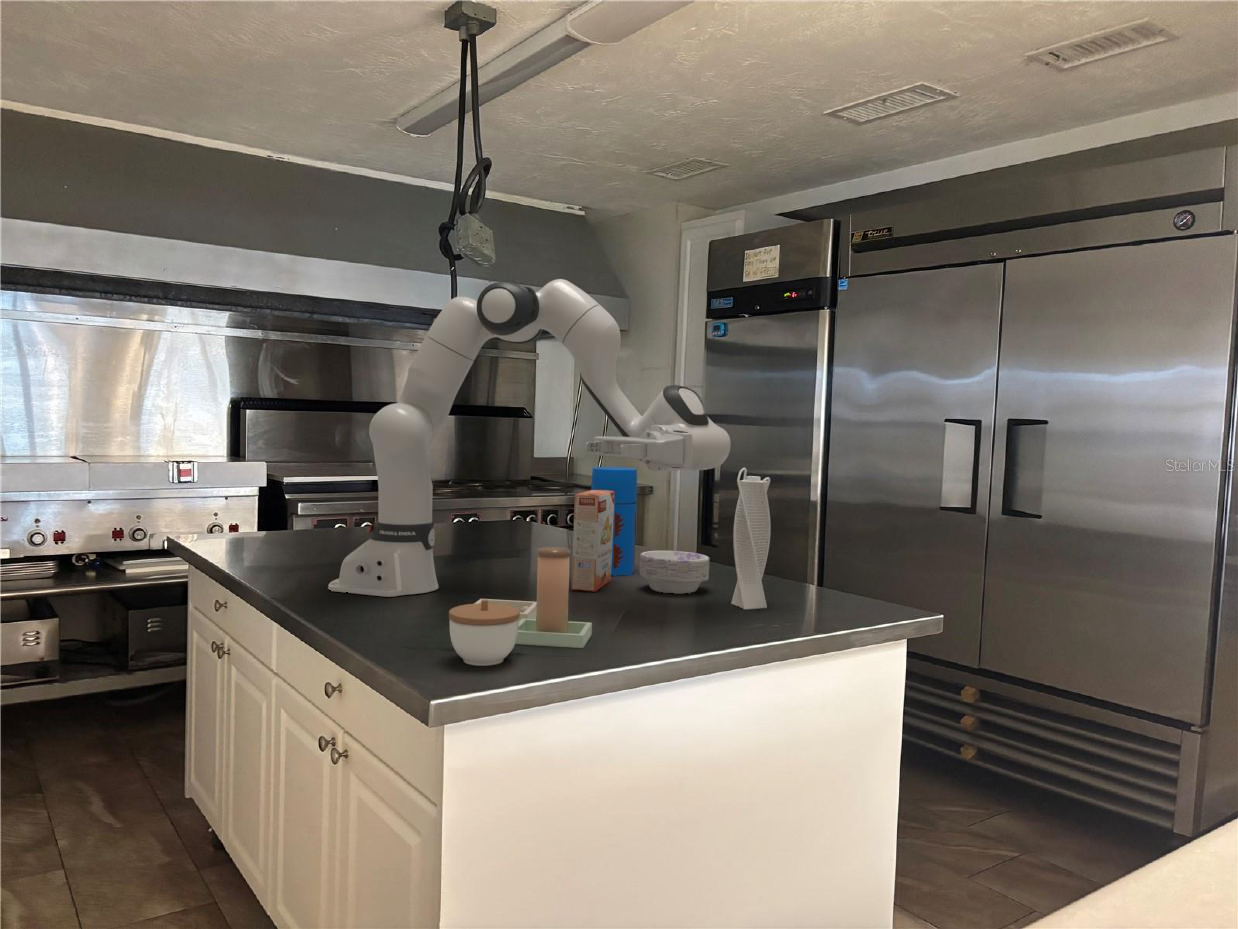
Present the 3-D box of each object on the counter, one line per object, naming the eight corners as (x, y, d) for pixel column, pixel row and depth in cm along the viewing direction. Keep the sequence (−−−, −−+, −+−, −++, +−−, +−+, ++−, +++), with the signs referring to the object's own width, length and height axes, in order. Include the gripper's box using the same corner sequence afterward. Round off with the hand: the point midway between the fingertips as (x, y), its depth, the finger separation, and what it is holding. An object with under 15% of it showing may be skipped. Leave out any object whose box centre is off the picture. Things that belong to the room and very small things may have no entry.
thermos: (607, 566, 226) (610, 466, 224) (642, 572, 219) (646, 469, 218) (580, 572, 217) (583, 468, 215) (616, 578, 210) (619, 470, 209)
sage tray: (509, 649, 145) (509, 631, 145) (521, 636, 154) (522, 618, 154) (582, 654, 144) (583, 635, 144) (591, 640, 153) (591, 622, 153)
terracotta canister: (531, 641, 147) (534, 551, 146) (538, 633, 152) (541, 546, 151) (564, 643, 146) (567, 552, 145) (570, 635, 152) (572, 548, 151)
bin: (400, 626, 159) (401, 606, 158) (420, 614, 168) (420, 595, 168) (526, 634, 156) (527, 614, 156) (538, 620, 166) (539, 602, 166)
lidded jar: (440, 654, 142) (441, 595, 141) (506, 648, 146) (507, 591, 146) (458, 673, 132) (459, 609, 131) (528, 666, 136) (529, 605, 136)
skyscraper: (722, 602, 187) (727, 467, 185) (754, 600, 190) (759, 467, 188) (742, 610, 179) (747, 469, 178) (774, 608, 182) (780, 470, 181)
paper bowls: (712, 586, 204) (713, 551, 203) (703, 599, 189) (704, 562, 189) (646, 581, 207) (647, 547, 207) (632, 594, 193) (633, 557, 192)
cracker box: (597, 593, 193) (600, 495, 192) (570, 590, 194) (572, 493, 193) (613, 581, 206) (615, 490, 205) (587, 579, 208) (590, 488, 207)
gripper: (627, 429, 180) (570, 428, 171) (698, 433, 164) (639, 432, 155) (626, 461, 180) (569, 462, 172) (697, 468, 164) (638, 469, 156)
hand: (603, 448), depth 163 cm, fingers open, 8 cm apart
